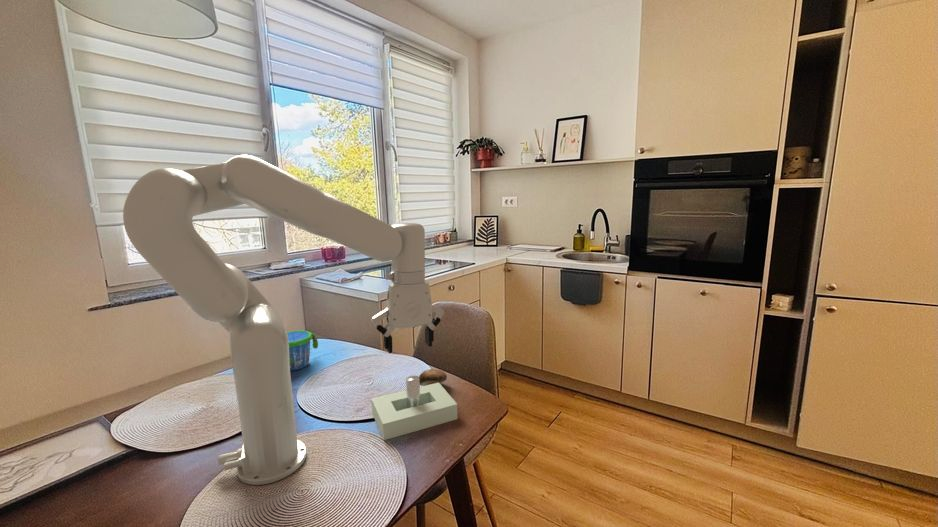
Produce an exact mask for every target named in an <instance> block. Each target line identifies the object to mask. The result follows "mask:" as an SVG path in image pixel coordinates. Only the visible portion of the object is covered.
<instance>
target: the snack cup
mask: <svg viewBox="0 0 938 527" xmlns="http://www.w3.org/2000/svg"><path fill="white" fill-rule="evenodd" d="M286 332H287V335H288V341H289V363H290V371H298V370H300V369H303V368H305V367H307V366H309V363H310V358H311V357H310V355H311V354H310V353H311V340H312V348H313V349H318V347H319V341H318V337H317V335H316V334H315V333H312V332H310V331H309V330H301V329H300V330H299V329H298V330H292V331H286Z"/></svg>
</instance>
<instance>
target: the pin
mask: <svg viewBox="0 0 938 527" xmlns="http://www.w3.org/2000/svg"><path fill="white" fill-rule="evenodd" d="M405 384H406V386H405V387H406V388H405V389H406V390H407V408H411V407H415V406H419V405H420V387H421V385H420V381H419V375H410V376H407V377H406V379H405Z"/></svg>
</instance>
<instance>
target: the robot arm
mask: <svg viewBox="0 0 938 527" xmlns="http://www.w3.org/2000/svg"><path fill="white" fill-rule="evenodd" d="M242 205H247V206H249V207H251V208H253V209H256V210H258V211H261V212H262V213H265V214H267V215H269V216H272V217H273V218H276V219H279V221H283V222H284V223H287V224H288V225H289V224H290V226H291V225H292V226H294V227H296V228H298V229H301V230H303V231H305V232H307V233H309V234H311V235H315V236H319V237H322V238H326V239H327V240H330V241H332V242H335V243H337V244H340V245H342V246H345V247H347V248H348V249H351V250H353V251H355V252H358V253H359V254H362V255H364V256H366V257H368V258H370V259H373V260H375V261H377V262H382V263H384V262H390V261H391V270H390V272H389V273H385V276H384V277H385V280H386V281H388V280H389V281H390V283H388V284H389V285H388V288H387V294H386V295H387V296H386V305H385V306H386V307H385V308H384V309H383V310H381V311H379V312H378V313H377V314H375V315H373V316H372V317H371V318H370V320H371V322H372V323H373V325H374V327H375V329H376V330H377V331H378V332H379V333H380V334H382V335H383V348H384V350H386V351H387V353H389V354H392V353H393V336H392V333H393V332H394V330H401V329H403V330H404V329H411V328H416V327H417V328H418V327H423V326H426V327H424V343H425V344H426V345H427V346H428V347H429V348H432V346H433V342H434V339H435V338H434V332H435V330H436V327H437V326H438V325H439V324H440V322H441V320H442V318H443V316H444V314H445V310H444V309H442V308H440V307H439V306H436V305H433V304H432V297H431V296H432V295H431V294H432V293H431V288H430V285H429V284H430V283H429V282H428V281H426V268H425V266H426V258H425V257H426V256H425V255H426V254H425V253H426V250H425V249H426V246H425V245H426V241H425V240H426V234H425V232H426V231H425V227H424V226H423V225H422V224H420V223H417V222H416V223H414V222H401V223H400V222H399V223H395V224H391V223H390V224H388V223H386V222H384V221H383V220H381V219H379V218H377V217H374V216H373V215H371V214H369V213H367V212H366V211H363V210H361V209H359V208H357V207H354V206H353V205H350V204H348V203H346V202H344V201H342V200H341V199H339V198H337V197H335V196H333V195H331V194H330V193H327V192H325V191H323V190H321V189H319V188H317V187H315V186H314V185H311V184H309V183H308V182H306V181H303V180H301V179H299V178H297V177H296V176H294V175H292V174H290V173H288V172H287V171H284V170H282V168H281V169H280V168H279V167H277V166H275V165H273V164H271V163H268V162H267V161H265V160H263V159H260V158H258V157H256V156H254V155H250V154H249V155H248V154H240V155H236V156H234V157H231V158H230V159H228V160H227V161H224V162H220V163H216V164H210V165H205V166H200V167H199V166H198V167H193V168H187V169H182V170H180V169H175V168H167V167H166V168H157V169H154V170H151V171H149V172H147V173H144V175H142V176H141V177H140V178H139V179H138V180H137V181H136V182H135V184H133V186H132V187H131V189H130V191H129V193H128V194H127V196H126V199H125V200H124V205H123V209H122V210H123V211H122V213H123V214H122V220H123V225H124V229H125V230H124V231H125V232H126V235H127V236H128V239H129V241H130V243H131V244H132V245H133V247H134V249H135V250H136V251H137V252H138V253H139V254H140V256H141V257H142V258H143V259H144V260H145V261H146V262H147V263H148V264H149V265H150V267H152V268H153V269H154V270H155V271H156V272H157V274H158V275H159V276H161V278H162V279H163V280H164V281H165V282H166V284H168V285H169V287H170V288H172V290H174V292H175V293H176V294H177V295H178V296H179V297H180V298H181V299H182V300H183V301H184V302H185V303H186V304H187V305H188V306H189V307H190V309H191V310H192V311H193V312H194V313H195V314H196V315H197V316H199V317H201V318H202V319H204V320H206V321H209V322H213V323H214V322H215V323H219V324H220V325H221V327H223V329H225V331H227V333H229V352H230V353H229V356H230V360H231V366H232V371H233V378H234V385H235V391H236V392H235V393H236V401H237V405H238V414H239V421H240V429H241V437H242V447H241V448H238V449H237V450H236V451H233V452H227V453H226V452H225V453H224V454H219V455H218V466H223V468H224V471H228V470H233V469H235V468H236V472H237V474H236V475H237V476H238V479H239V480H240V481H241V482H242V483H245V484H247V485H253V486H254V485H255V486H256V485H257V486H259V485H260V486H261V485H267V484H272V483H275V482H278V481H280V480H282V479H284V478H287V477H288V476H290V475H292V474H293V473H295V472H296V471H297V470H298V469H299V468H301V466H302V465H303V464H304V462H305V460H306V458H307V455H308V454H307V446H306V445H305V444H304V443H303V441H301V440H299V439H298V435H297V426H296V416H295V406H294V396H293V387H292V377H291V376H292V375H291V370H290V363H289V341H288V335H287V332H288V331H287V330H286V329H287V328H286V326H285V325H284V322H283V321H282V318H281V316H280V314H279V312H278V311H277V310H276V308H275V307H274V306H273V305H272V304H271V303H270V302H269V300H268V299H267V298H266V296H264V294H262V292H261V291H260V290H259V289H258V288H257V286H256V285H255V284H254V283H253V282H252V281H251V280H250V278H248V277H247V275H246V274H245V273H244V272H243V271H242V270H241V269H239V268H238V267H237V266H235V265H232V264H229V263H225V262H224V260H222V258H220V256H218V254H217V253H216V252H215V251H214V250H213V249H212V247H211V246H210V245H209V244H208V242H207V241H206V240H205V239H204V238H203V237H202V236H201V235H200V234H199V232H197V230H196V228H195V227H194V223H193V217H195V216H196V217H197V216H199V215H204V214H209V213H212V212H216V211H222V210H225V209H230V208H234V207H237V206H242ZM433 313H435V315H434V316H433ZM384 318H385V319H386V322H387V323H386V324H385V325H384V326H383V325H382V324H381V322H380V321H382V320H383V319H384Z"/></svg>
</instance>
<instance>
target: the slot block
mask: <svg viewBox="0 0 938 527" xmlns="http://www.w3.org/2000/svg"><path fill="white" fill-rule="evenodd" d="M372 413H373V414H372ZM371 414H372V416H373V418H374V420H375V424H376V425H377V428H378V430H379V432H380V435H381V437H382V439H383V441H386V440H389V439H394V438H397V437H401V436H404V435H408V434H411V433H414V432H418V431H421V430H422V431H423V430H424V429H428V428H432V427H435V426H439V425H441V424H445V423H449V422H452V421H456V420H458V403H457V402H456V401H455V399H453V398H452V396H451V395H450V394H449V393H448V392H447V390H446V389H445V388H444V387H443V386H442V383H441V384H440V383H434V384H430V385H426V386H420V405H419V406H415V407H411V408H407V390H401V391H398V392H397V391H396V392H394V393H388V394H385V395H379V396H377V397H372V398H371Z"/></svg>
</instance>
